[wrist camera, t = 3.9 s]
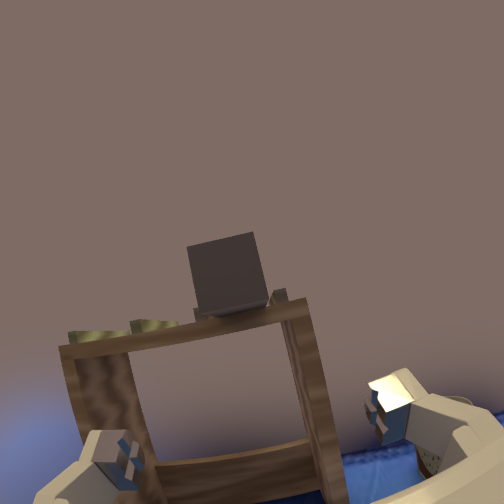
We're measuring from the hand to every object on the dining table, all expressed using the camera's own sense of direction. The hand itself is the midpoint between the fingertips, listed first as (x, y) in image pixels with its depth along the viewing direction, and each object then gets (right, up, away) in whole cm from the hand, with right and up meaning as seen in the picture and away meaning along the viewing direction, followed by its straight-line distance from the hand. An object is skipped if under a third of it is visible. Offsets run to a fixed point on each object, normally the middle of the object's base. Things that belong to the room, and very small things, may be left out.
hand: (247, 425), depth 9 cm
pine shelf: (-1, -27, +18) cm, 33 cm away
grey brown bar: (-1, 0, +20) cm, 20 cm away
